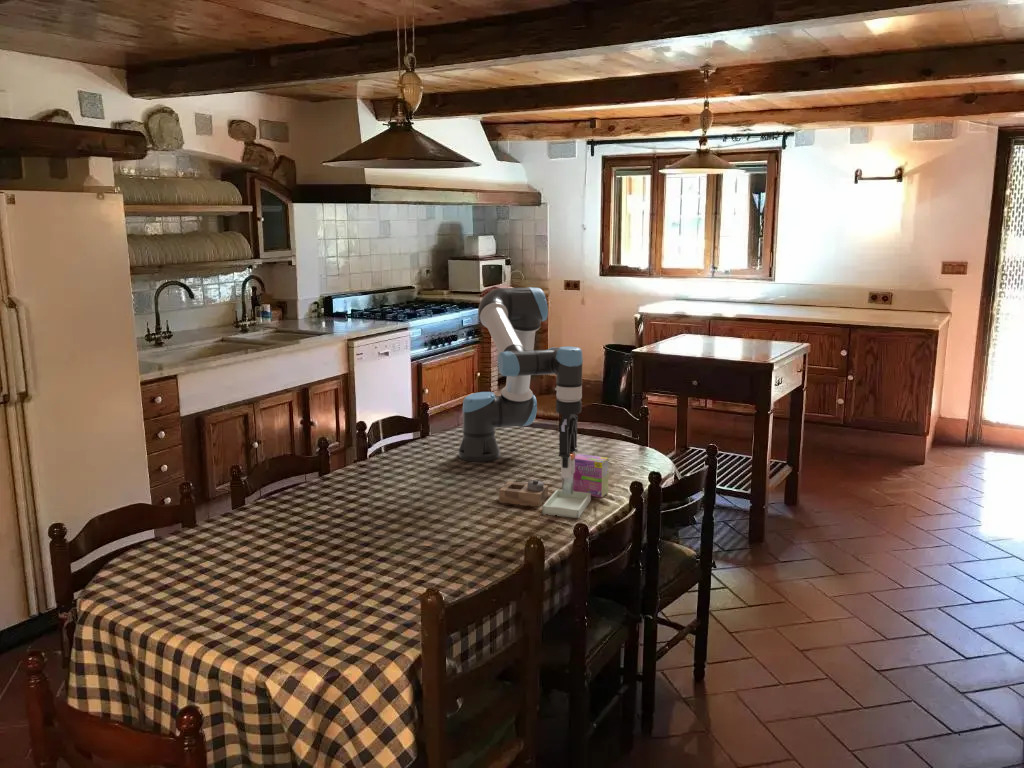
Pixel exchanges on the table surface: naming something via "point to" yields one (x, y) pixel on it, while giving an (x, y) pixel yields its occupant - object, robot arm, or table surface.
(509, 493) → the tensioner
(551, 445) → the table surface
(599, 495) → the box
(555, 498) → the tray
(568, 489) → the pin
